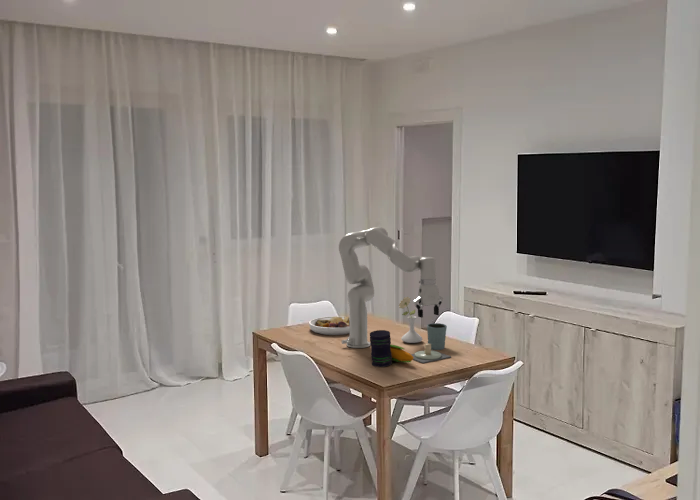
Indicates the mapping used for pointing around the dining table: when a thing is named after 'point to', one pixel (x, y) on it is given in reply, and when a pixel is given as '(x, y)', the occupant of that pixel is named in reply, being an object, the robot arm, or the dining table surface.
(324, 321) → the bowl
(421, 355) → the lid
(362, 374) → the dining table surface
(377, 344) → the storage jar
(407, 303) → the flower in vase
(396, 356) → the corn
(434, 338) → the teal cup
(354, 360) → the dining table surface
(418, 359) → the mat
